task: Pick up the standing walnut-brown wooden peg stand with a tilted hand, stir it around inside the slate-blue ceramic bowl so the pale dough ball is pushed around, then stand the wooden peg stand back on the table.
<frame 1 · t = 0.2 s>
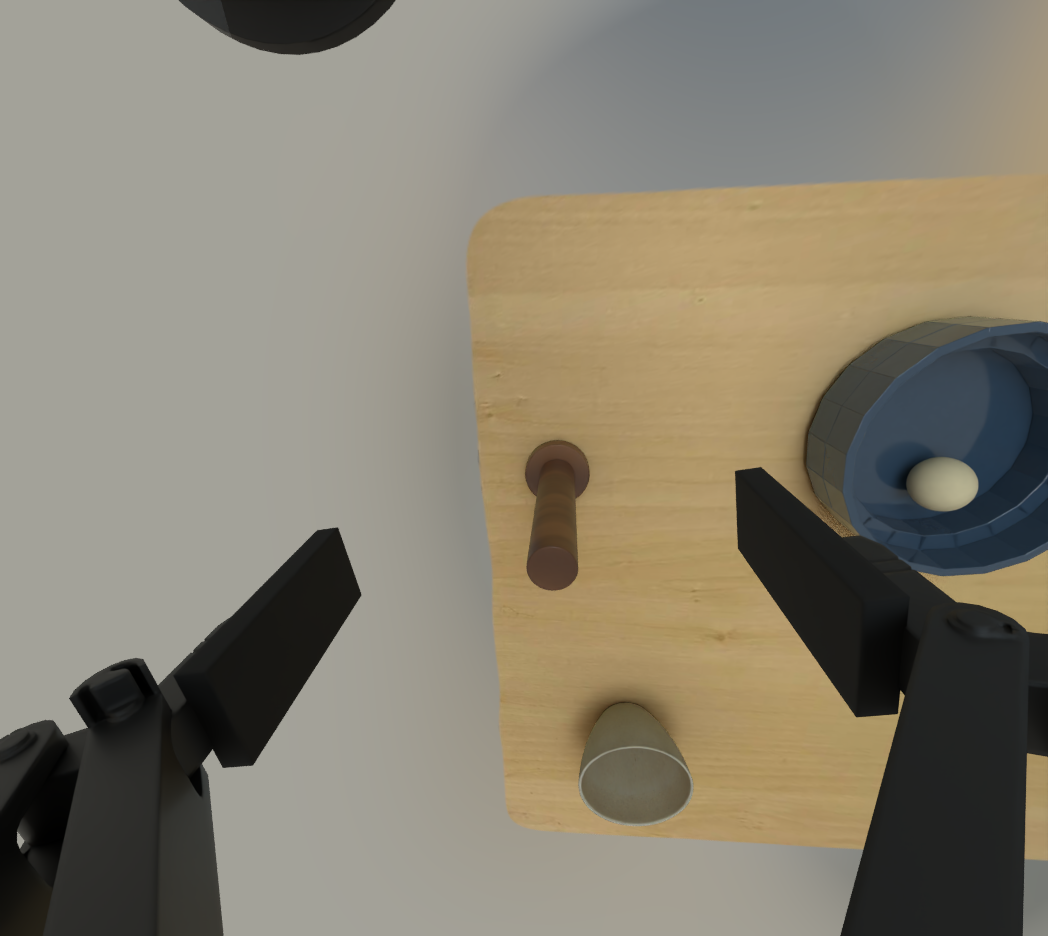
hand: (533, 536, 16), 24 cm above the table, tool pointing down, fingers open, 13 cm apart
wooden peg stand: (557, 469, 40), on the table
flower pot: (626, 719, 49), on the table
bowl: (922, 435, 37), on the table
dough ball: (941, 484, 35), point 3 cm above the table, touching bowl
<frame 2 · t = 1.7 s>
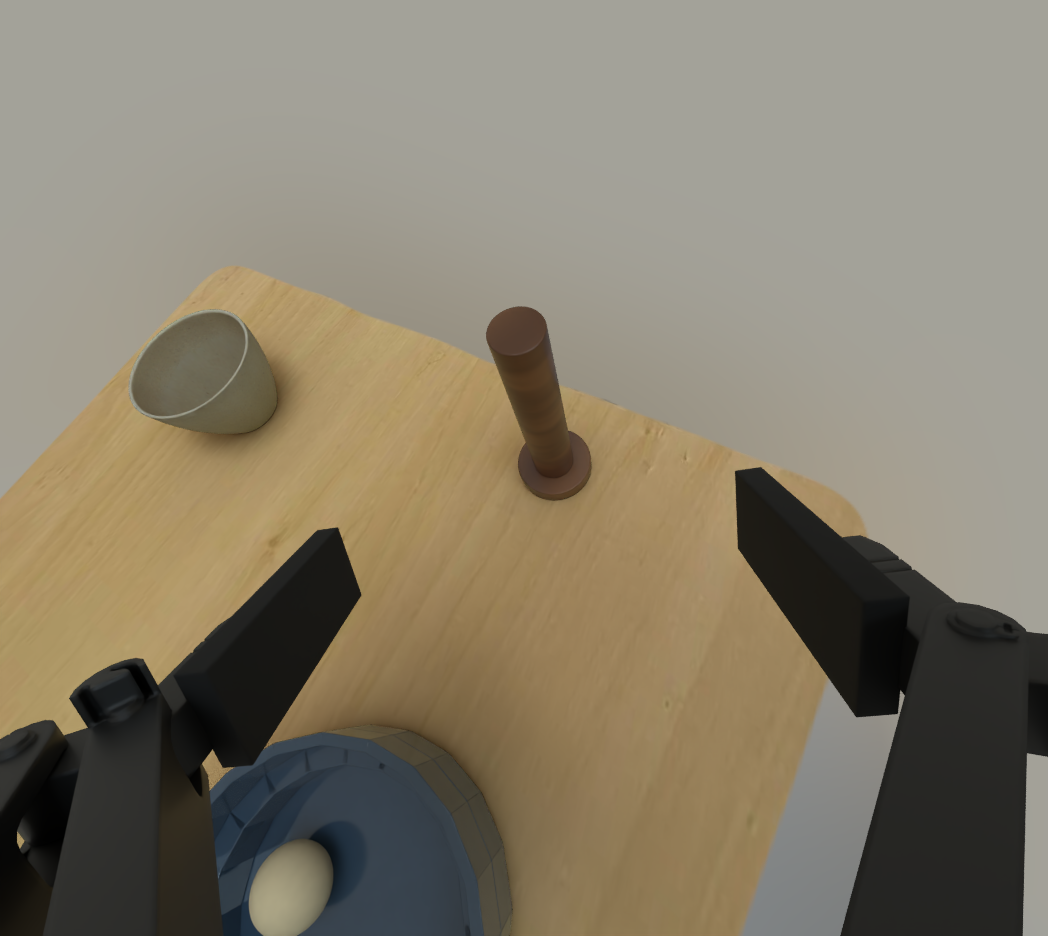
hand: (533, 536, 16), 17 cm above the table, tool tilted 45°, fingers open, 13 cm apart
wooden peg stand: (555, 467, 35), on the table
flower pot: (252, 410, 43), on the table
bowl: (361, 900, 27), on the table
dough ball: (292, 886, 25), point 3 cm above the table, touching bowl
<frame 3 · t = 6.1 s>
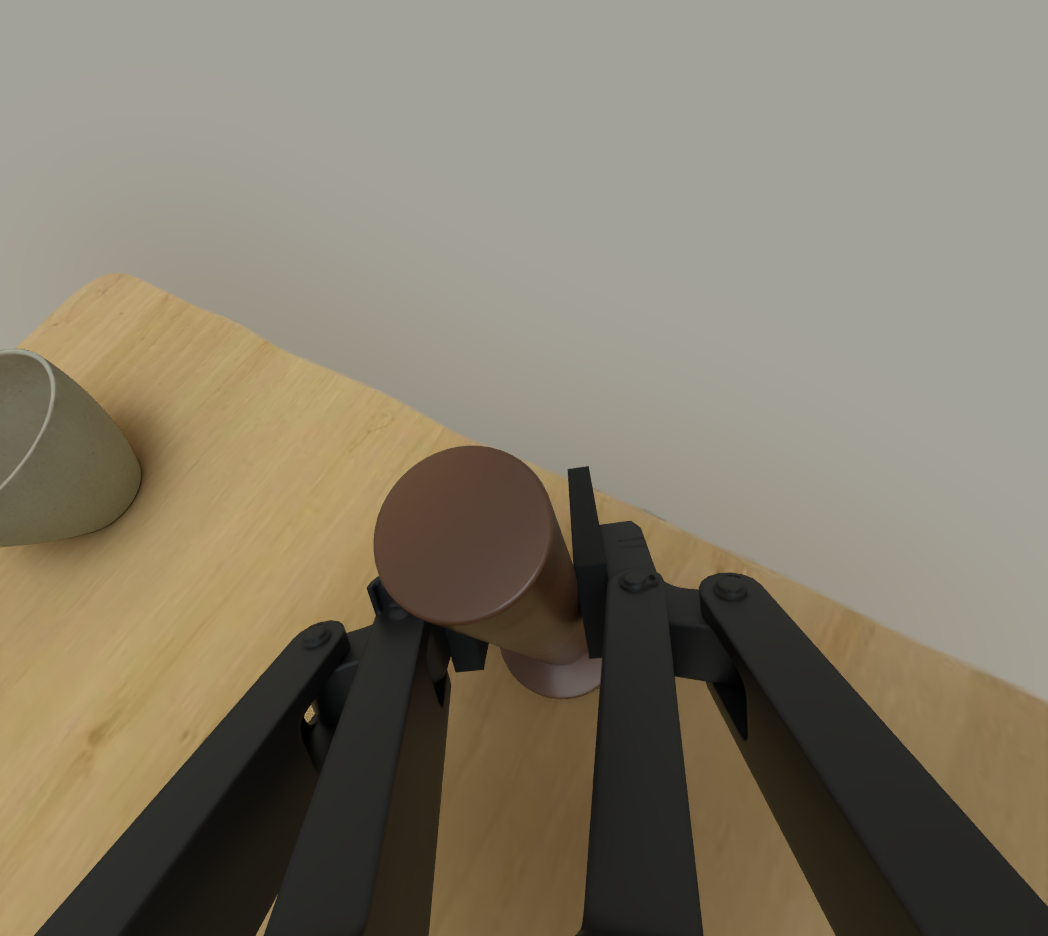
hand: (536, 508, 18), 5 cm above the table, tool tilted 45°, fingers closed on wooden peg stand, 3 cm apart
wooden peg stand: (562, 631, 21), on the table, touching gripper
flower pot: (105, 494, 29), on the table
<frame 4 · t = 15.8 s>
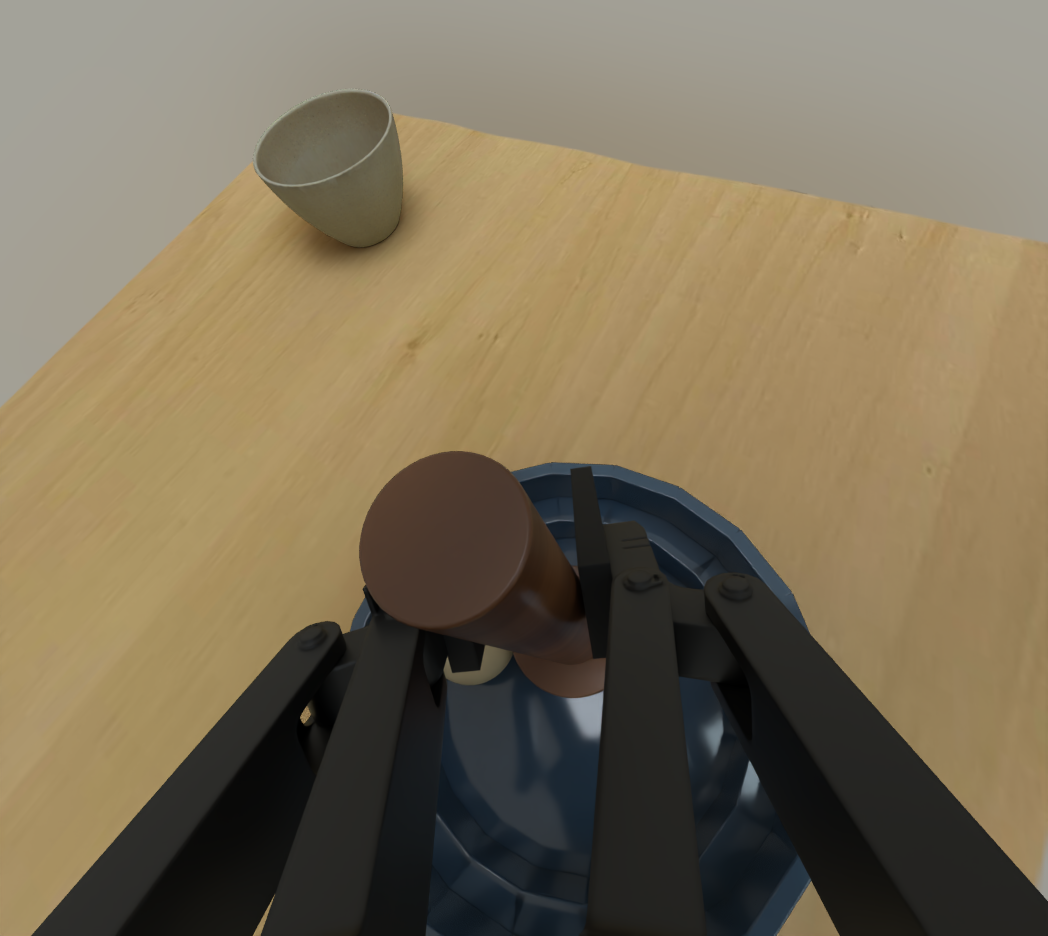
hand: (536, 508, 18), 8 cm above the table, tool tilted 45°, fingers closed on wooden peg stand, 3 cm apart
wooden peg stand: (573, 630, 21), point 3 cm above the table, touching dough ball, gripper
flower pot: (370, 227, 39), on the table
bowl: (575, 684, 22), on the table
dough ball: (471, 636, 21), point 3 cm above the table, tilted 50°, touching bowl, wooden peg stand
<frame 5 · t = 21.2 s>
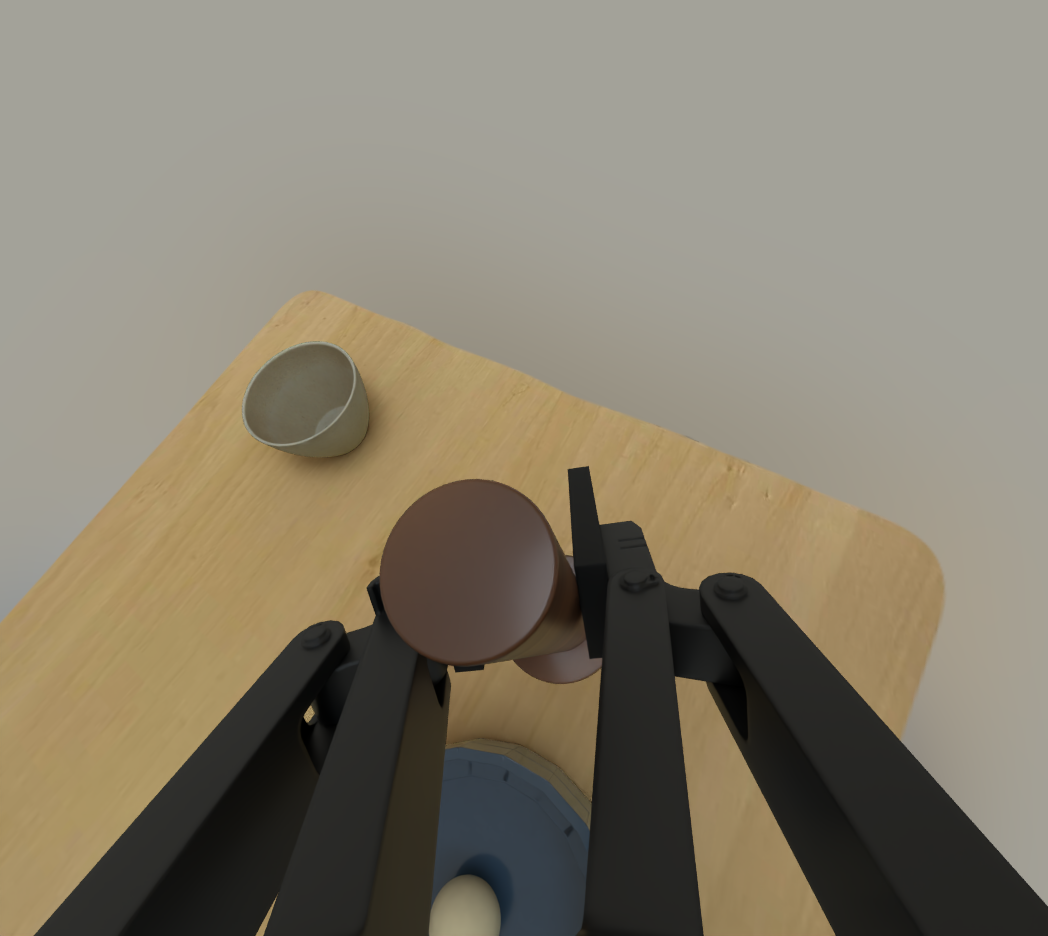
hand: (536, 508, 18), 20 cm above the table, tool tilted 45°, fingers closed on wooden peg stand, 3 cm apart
wooden peg stand: (561, 617, 21), point 14 cm above the table, touching gripper
flower pot: (343, 433, 46), on the table
bowl: (481, 900, 29), on the table
dough ball: (465, 921, 27), point 3 cm above the table, tilted 68°, touching bowl
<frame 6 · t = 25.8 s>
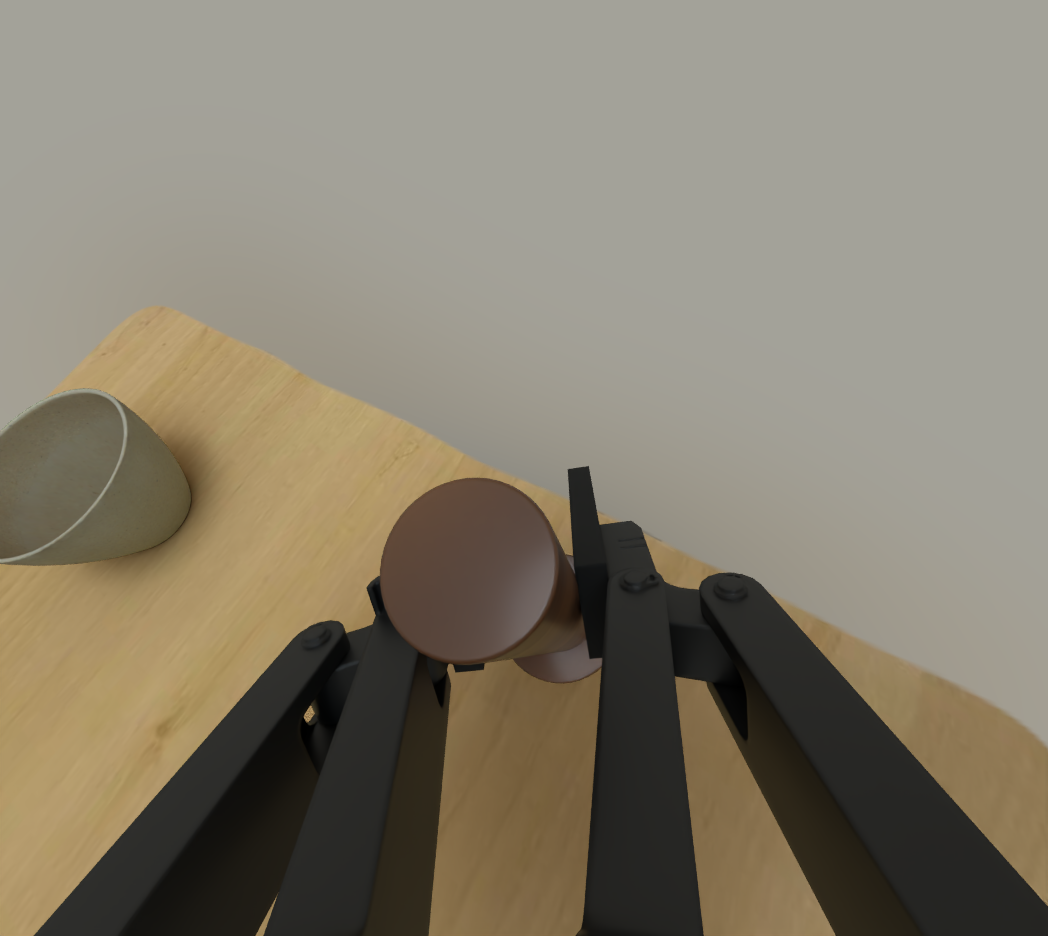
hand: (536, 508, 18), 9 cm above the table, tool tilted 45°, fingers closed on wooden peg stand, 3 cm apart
wooden peg stand: (561, 617, 21), point 3 cm above the table, touching gripper
flower pot: (159, 513, 32), on the table
when the fingers open (6 cm above the table, at t = 26.9 s): wooden peg stand stays where it is, on the table.
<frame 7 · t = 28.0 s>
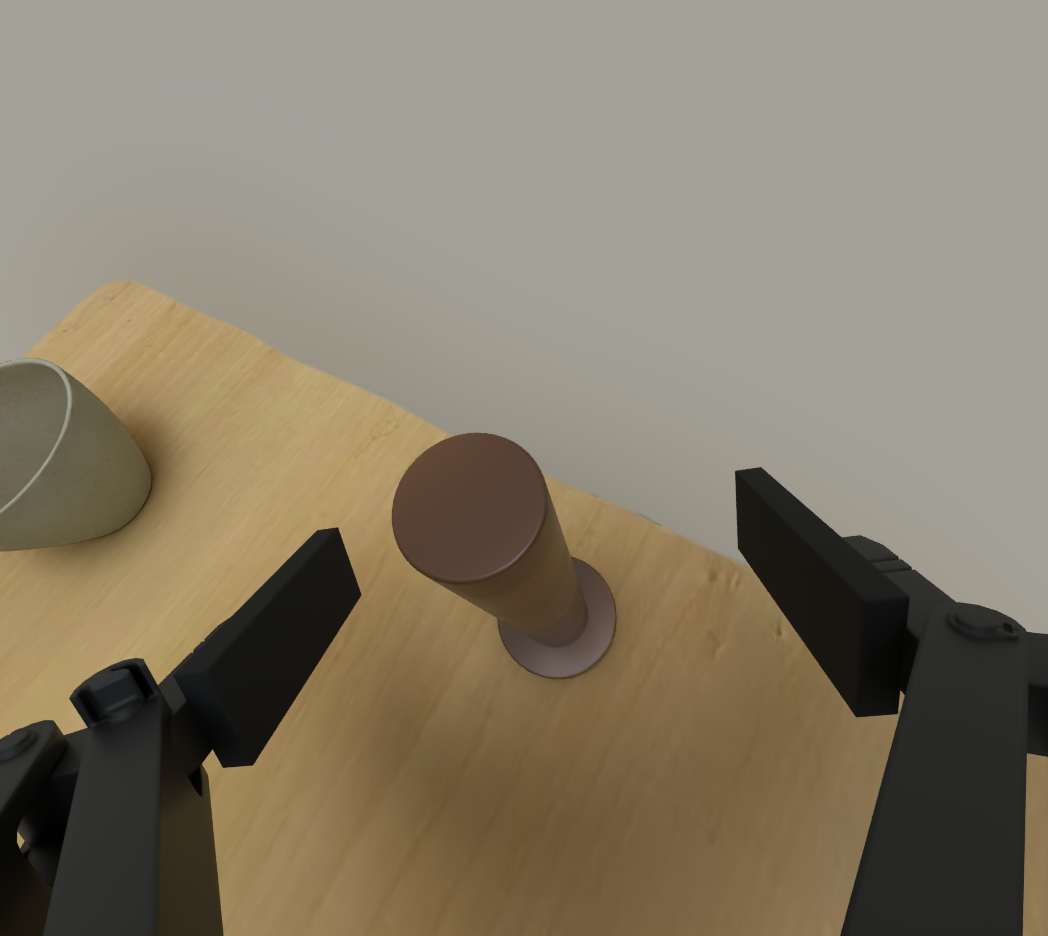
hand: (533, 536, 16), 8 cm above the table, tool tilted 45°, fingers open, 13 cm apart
wooden peg stand: (558, 617, 22), on the table
flower pot: (116, 498, 29), on the table
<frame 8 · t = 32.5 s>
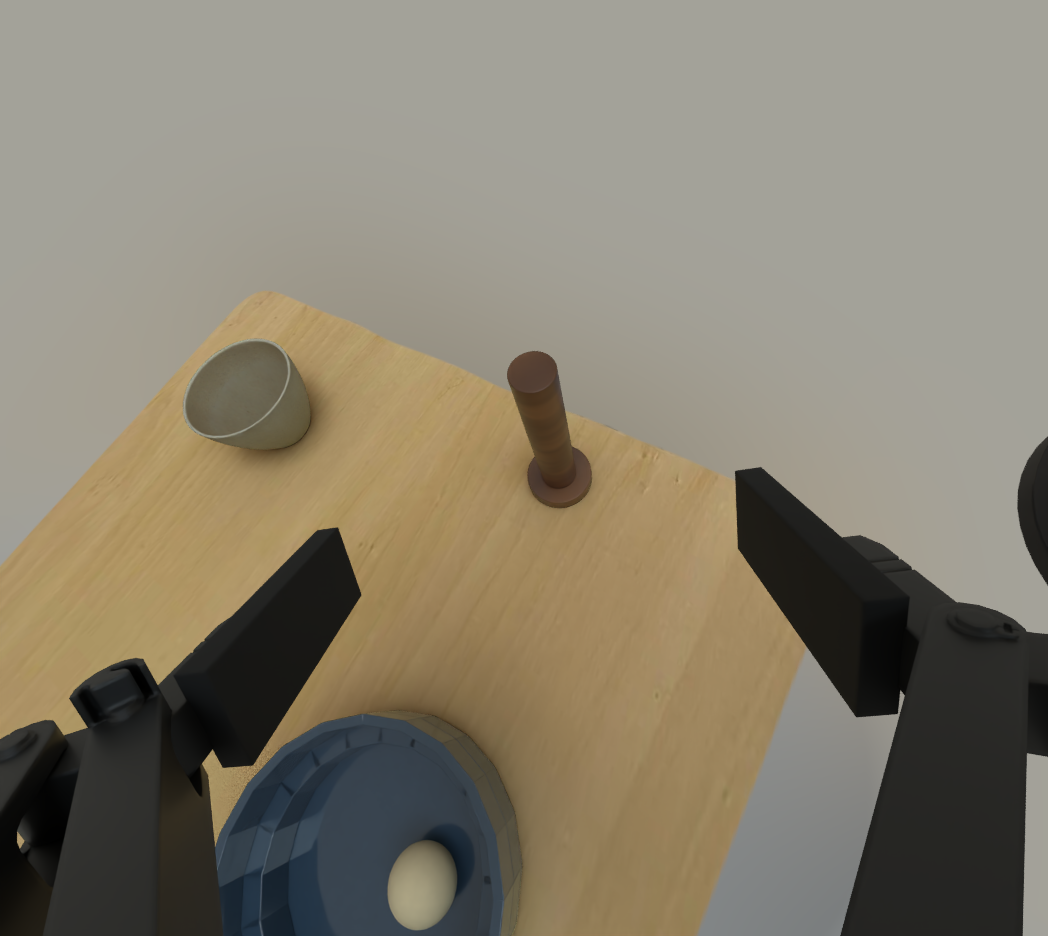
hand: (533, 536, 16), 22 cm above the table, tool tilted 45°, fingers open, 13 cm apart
wooden peg stand: (560, 478, 40), on the table
flower pot: (287, 427, 48), on the table
bowl: (392, 859, 31), on the table
dough ball: (422, 883, 28), point 3 cm above the table, tilted 140°, touching bowl
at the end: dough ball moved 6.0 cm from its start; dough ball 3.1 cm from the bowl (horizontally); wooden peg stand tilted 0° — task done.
